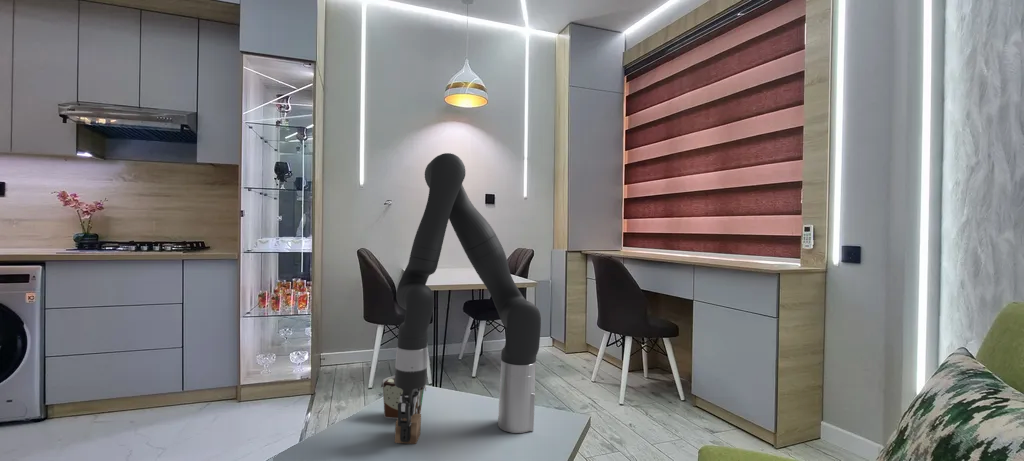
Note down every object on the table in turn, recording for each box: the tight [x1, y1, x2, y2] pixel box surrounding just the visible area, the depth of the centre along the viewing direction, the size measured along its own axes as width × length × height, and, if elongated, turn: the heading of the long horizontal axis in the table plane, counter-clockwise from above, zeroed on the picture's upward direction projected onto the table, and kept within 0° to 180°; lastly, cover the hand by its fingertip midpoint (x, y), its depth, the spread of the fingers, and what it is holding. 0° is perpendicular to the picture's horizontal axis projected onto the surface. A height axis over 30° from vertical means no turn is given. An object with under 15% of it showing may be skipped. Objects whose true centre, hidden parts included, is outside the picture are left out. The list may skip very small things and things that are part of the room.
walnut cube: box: [394, 413, 422, 445], centre depth 108 cm, size 5×5×5 cm
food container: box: [380, 375, 427, 420], centre depth 122 cm, size 12×6×10 cm, turn 84°
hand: (407, 435), depth 108 cm, fingers closed on walnut cube, 5 cm apart
